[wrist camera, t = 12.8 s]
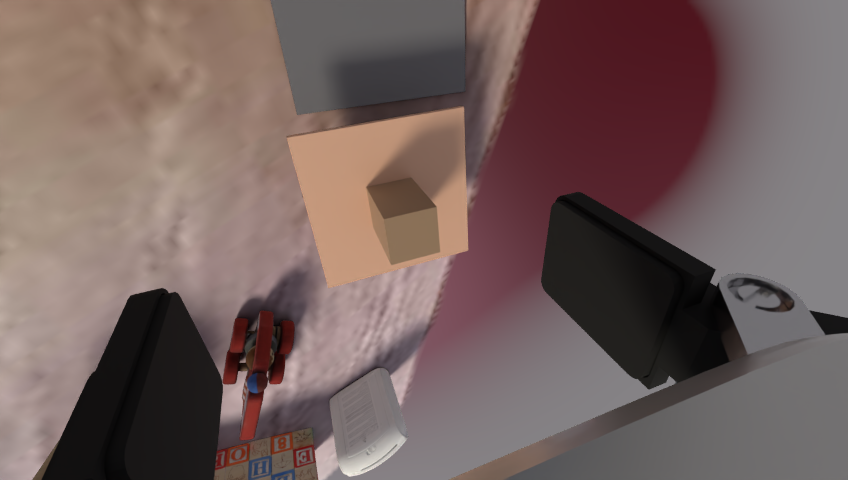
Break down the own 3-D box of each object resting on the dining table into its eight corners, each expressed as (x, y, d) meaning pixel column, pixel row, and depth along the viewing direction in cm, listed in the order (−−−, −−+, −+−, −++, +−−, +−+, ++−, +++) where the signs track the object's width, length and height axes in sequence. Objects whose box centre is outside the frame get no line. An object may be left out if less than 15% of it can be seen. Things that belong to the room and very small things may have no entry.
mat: (239, -134, 29) (239, -135, 28) (461, -130, 33) (463, -132, 33) (297, 114, 38) (297, 114, 38) (463, 90, 42) (465, 91, 42)
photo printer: (340, 411, 61) (353, 489, 51) (323, 399, 59) (334, 479, 48) (393, 375, 61) (418, 446, 51) (379, 362, 59) (402, 434, 48)
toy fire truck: (297, 303, 49) (303, 364, 40) (277, 375, 53) (279, 443, 45) (237, 298, 46) (230, 363, 37) (221, 374, 50) (212, 448, 42)
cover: (286, 135, 32) (290, 164, 26) (461, 105, 36) (500, 124, 30) (327, 284, 41) (338, 333, 35) (465, 247, 44) (497, 285, 38)
